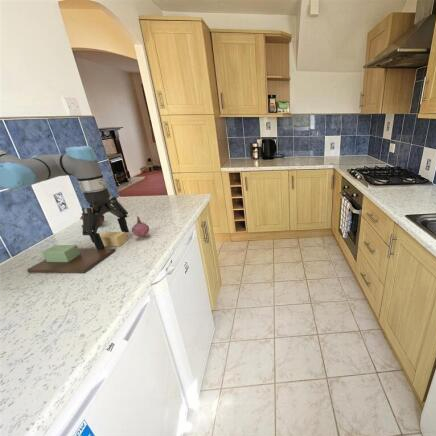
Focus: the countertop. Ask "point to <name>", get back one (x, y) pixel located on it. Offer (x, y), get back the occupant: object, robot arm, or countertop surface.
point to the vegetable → (140, 228)
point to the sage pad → (61, 253)
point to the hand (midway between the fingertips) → (114, 240)
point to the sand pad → (114, 238)
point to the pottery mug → (99, 222)
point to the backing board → (74, 262)
